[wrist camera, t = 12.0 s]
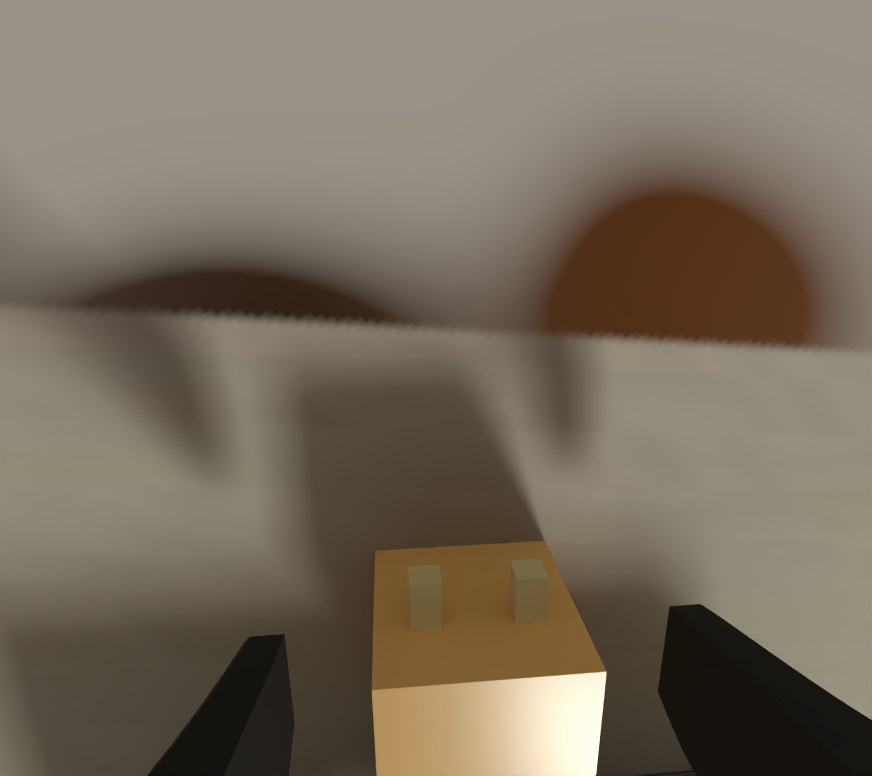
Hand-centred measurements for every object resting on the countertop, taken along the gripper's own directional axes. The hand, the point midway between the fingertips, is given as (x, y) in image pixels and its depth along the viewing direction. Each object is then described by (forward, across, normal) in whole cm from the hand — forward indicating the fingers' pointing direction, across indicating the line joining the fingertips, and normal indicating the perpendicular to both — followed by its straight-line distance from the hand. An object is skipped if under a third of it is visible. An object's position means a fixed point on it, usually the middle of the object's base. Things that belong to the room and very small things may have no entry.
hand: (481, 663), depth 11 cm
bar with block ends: (+3, 0, +8) cm, 8 cm away
